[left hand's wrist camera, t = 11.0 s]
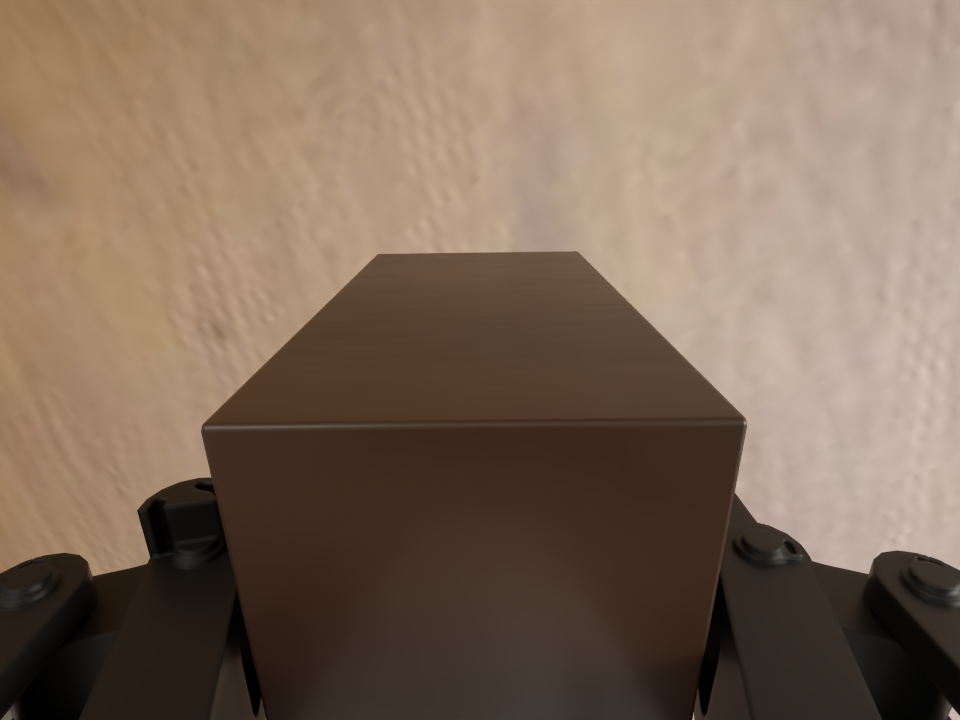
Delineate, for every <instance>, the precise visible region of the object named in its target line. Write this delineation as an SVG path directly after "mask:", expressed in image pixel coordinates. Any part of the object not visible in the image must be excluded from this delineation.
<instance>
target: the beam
mask: <svg viewBox="0 0 960 720" xmlns="http://www.w3.org/2000/svg"><path fill="white" fill-rule="evenodd" d="M746 428H747V422H746V418H745V417H744V416H743V415H742V414H741V413H740V412H739V411H738V410H737V409H736V408H735V407H734V406H733V405H732V404H731V403H730V402H729V401H728V400H727V399H726V398H725V397H724V396H723V395H722V394H721V393H720V392H719V391H718V390H717V389H716V388H715V387H714V386H713V385H712V384H711V383H710V382H709V381H708V380H707V379H706V378H705V377H704V376H703V375H701V374H700V373H699V372H698V371H697V370H696V369H695V368H694V367H693V366H692V365H691V364H690V363H689V362H688V361H687V360H686V359H685V358H684V357H683V356H682V355H681V354H680V353H679V352H678V351H677V350H676V349H675V348H674V347H673V346H672V345H671V344H670V343H669V342H668V341H667V340H666V339H665V338H664V337H663V336H662V335H661V334H660V333H659V332H658V331H657V330H656V329H655V328H654V327H653V326H652V325H651V324H650V323H649V322H648V321H647V320H646V319H645V318H644V317H643V316H642V315H641V314H640V313H639V312H638V311H637V310H636V309H635V308H634V307H633V306H632V305H631V304H630V303H629V302H628V301H627V300H626V299H625V298H624V297H623V296H622V295H621V294H620V293H619V292H618V291H617V290H616V289H615V288H614V287H613V286H612V285H611V284H610V283H609V282H608V281H607V280H606V279H605V278H604V277H603V276H602V275H601V274H600V273H599V272H598V271H597V270H596V269H595V268H594V267H593V266H592V265H591V264H590V263H589V262H588V261H587V260H586V259H585V258H584V257H583V256H582V255H581V254H580V253H579V252H506V253H431V254H378V255H377V256H376V257H375V258H374V259H372V260H371V261H370V262H369V263H368V264H367V265H366V266H365V267H364V268H363V269H362V270H361V271H360V272H359V273H358V274H357V275H356V276H355V277H354V278H353V279H352V280H351V281H350V282H349V283H348V284H347V285H346V286H345V287H344V288H343V289H342V290H341V291H340V292H339V293H337V294H336V295H335V296H334V297H333V298H332V299H331V300H330V301H329V302H328V303H327V304H326V305H325V306H324V307H323V308H322V309H321V310H320V311H319V312H318V313H317V314H316V315H315V316H314V317H313V318H312V319H311V320H310V321H309V322H308V323H307V324H306V325H305V326H304V327H303V328H301V329H300V330H299V331H298V332H297V333H296V334H295V335H294V336H293V337H292V338H291V339H290V340H289V341H288V342H287V343H286V344H285V345H284V346H283V347H282V348H281V349H280V350H279V351H278V352H277V353H276V354H275V355H274V356H273V357H272V358H271V359H270V360H269V361H268V362H266V363H265V364H264V365H263V366H262V367H261V368H260V369H259V370H258V371H257V372H256V373H255V374H254V375H253V376H252V377H251V378H250V379H249V380H248V381H247V382H246V383H245V384H244V385H243V386H242V387H241V388H240V389H239V390H238V391H237V392H236V393H235V394H234V395H233V396H232V397H230V398H229V399H228V400H227V401H226V402H225V403H224V404H223V405H222V406H221V407H220V408H219V409H218V410H217V411H216V412H215V413H214V414H213V415H212V416H211V417H210V418H209V419H208V420H207V421H206V422H205V423H204V424H203V425H202V430H201V433H202V437H203V442H204V446H205V451H206V455H207V459H208V464H209V468H210V473H211V477H212V482H213V486H214V490H215V495H216V499H217V504H218V508H219V512H220V517H221V521H222V526H223V530H224V534H225V539H226V543H227V548H228V552H229V557H230V561H231V565H232V570H233V574H234V579H235V583H236V587H237V592H238V596H239V601H240V605H241V610H242V614H243V618H244V623H245V627H246V632H247V636H248V640H249V645H250V649H251V654H252V658H253V662H254V667H255V671H256V676H257V680H258V685H259V689H260V693H261V698H262V702H263V707H264V711H265V715H266V720H692V717H693V712H694V707H695V701H696V696H697V691H698V685H699V680H700V675H701V669H702V664H703V658H704V653H705V648H706V642H707V637H708V632H709V626H710V621H711V616H712V610H713V605H714V600H715V594H716V589H717V583H718V578H719V573H720V567H721V562H722V557H723V551H724V546H725V541H726V535H727V530H728V525H729V519H730V514H731V508H732V503H733V498H734V492H735V487H736V482H737V476H738V471H739V466H740V460H741V455H742V450H743V444H744V439H745V433H746Z"/></svg>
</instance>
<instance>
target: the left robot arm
mask: <svg viewBox="0 0 960 720" xmlns="http://www.w3.org/2000/svg"><path fill="white" fill-rule="evenodd" d="M137 511H138V515H139V519H140V522H141V526H142V529H143V533H144V536H145V540H146V544H147V547H148V551H149V554H150V559H149V561H148V564H145V565H142V566H138V567H134V568H130V569H125V570H120V571H116V572H111V573H106V574H102V575H97V576H92V573H91V570H90V567H89V564H88V562H87V561H86V560H85V559H84V558H82V557H81V556H80V555H75V554H68V553H60V554H53V555H45V556H42V557H38V558H35V559H31V560H28V561H25V562H22V563H20V564H18V565H17V566H15V567H13V568H11V569H9V570H7V571H5V572H3V573H1V574H0V720H1V719H2V718H3V716H4V715H5V714H6V713H7V711H8V710H9V709H10V711H11V713H12V716H13V719H12V720H265V719H266V715H265V711H264V707H263V702H262V698H261V693H260V689H259V685H258V680H257V676H256V671H255V667H254V662H253V658H252V654H251V649H250V645H249V640H248V636H247V632H246V627H245V623H244V618H243V614H242V610H241V605H240V601H239V596H238V592H237V587H236V583H235V579H234V574H233V570H232V565H231V561H230V557H229V552H228V548H227V543H226V539H225V534H224V530H223V526H222V521H221V517H220V512H219V508H218V504H217V499H216V495H215V490H214V486H213V482H212V478H197V479H192V480H188V481H183V482H179V483H177V484H174V485H172V486H170V487H167V488H165V489H162V490H161V491H159V492H157V493H156V494H154V495H153V496H151V497H150V498H148V499H147V500H146V501H145V502H144V503H143V504H142V506H141V507H140V508H139V509H138V510H137ZM952 707H953V708H954V709H955V711H956V712H957V713H958V714H959V715H960V570H958V569H956V568H954V567H952V566H950V565H947V564H945V563H944V562H942V561H940V560H937V559H934V558H932V557H927V556H925V555H921V554H918V553H911V552H904V551H891V552H884V553H881V554H880V555H879V556H877V557H876V558H875V559H874V560H873V563H872V566H871V569H870V572H869V574H865V573H860V572H856V571H851V570H846V569H842V568H837V567H832V566H828V565H824V564H820V563H816V562H813V561H811V558H810V556H809V555H808V554H807V552H806V551H805V549H804V548H803V547H802V545H801V544H799V543H798V542H797V541H795V540H794V539H793V538H792V537H790V536H789V535H788V534H786V533H784V532H782V531H779V530H777V529H775V528H773V527H771V526H768V525H764V524H760V523H757V522H756V521H755V519H754V518H753V517H752V515H751V514H750V513H749V511H748V510H747V509H746V507H745V506H744V505H743V503H742V502H741V500H740V499H739V498H738V496H737V495H736V494H735V492H734V498H733V503H732V508H731V514H730V519H729V525H728V530H727V535H726V541H725V546H724V551H723V557H722V562H721V567H720V573H719V578H718V583H717V589H716V594H715V600H714V605H713V610H712V616H711V621H710V626H709V632H708V637H707V642H706V648H705V653H704V658H703V664H702V669H701V675H700V680H699V685H698V691H697V696H696V701H695V707H694V718H695V720H951V718H950V717H949V716H948V715H949V713H950V710H951V708H952Z"/></svg>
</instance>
